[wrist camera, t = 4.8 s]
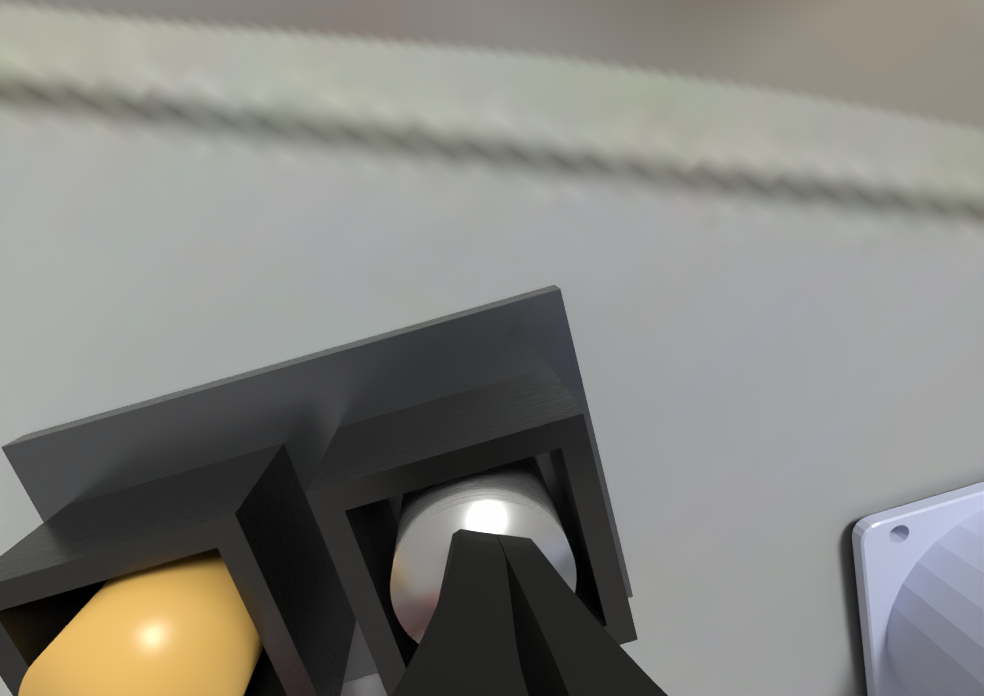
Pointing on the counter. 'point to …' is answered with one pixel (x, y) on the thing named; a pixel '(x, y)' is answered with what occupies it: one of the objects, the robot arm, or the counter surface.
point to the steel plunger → (471, 506)
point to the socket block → (313, 488)
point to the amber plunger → (154, 637)
